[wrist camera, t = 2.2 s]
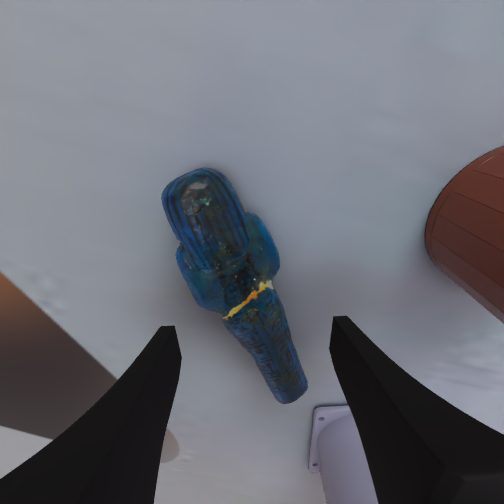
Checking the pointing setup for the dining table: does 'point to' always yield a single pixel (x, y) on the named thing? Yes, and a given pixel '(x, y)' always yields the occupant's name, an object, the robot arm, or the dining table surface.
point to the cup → (472, 231)
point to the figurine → (234, 273)
